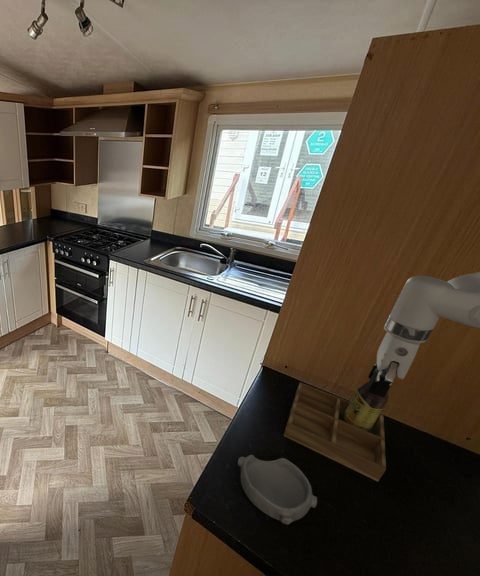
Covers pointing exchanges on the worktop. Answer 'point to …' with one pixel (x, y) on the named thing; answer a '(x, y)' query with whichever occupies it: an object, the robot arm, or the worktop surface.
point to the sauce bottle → (365, 406)
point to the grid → (336, 432)
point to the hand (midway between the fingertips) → (375, 386)
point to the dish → (276, 488)
